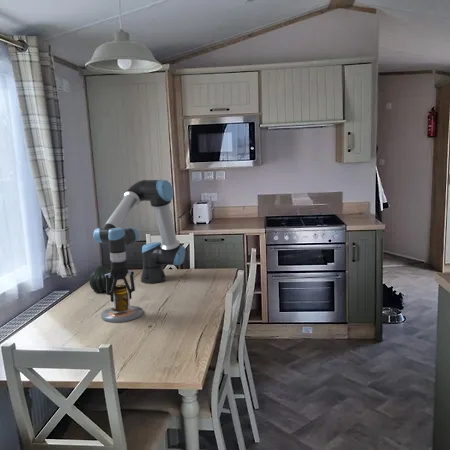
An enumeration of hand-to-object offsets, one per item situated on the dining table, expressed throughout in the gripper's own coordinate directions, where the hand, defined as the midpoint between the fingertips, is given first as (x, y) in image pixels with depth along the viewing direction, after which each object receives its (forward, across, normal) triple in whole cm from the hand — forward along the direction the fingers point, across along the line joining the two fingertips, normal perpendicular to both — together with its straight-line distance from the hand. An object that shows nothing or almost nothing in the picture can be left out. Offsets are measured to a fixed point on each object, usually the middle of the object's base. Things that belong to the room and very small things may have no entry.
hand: (121, 306), depth 220 cm
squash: (+4, -3, +45) cm, 45 cm away
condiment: (+2, -1, 0) cm, 2 cm away
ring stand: (+4, 0, 0) cm, 4 cm away
